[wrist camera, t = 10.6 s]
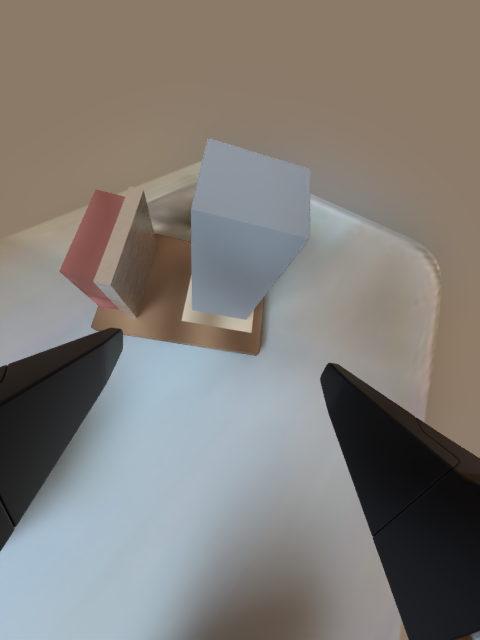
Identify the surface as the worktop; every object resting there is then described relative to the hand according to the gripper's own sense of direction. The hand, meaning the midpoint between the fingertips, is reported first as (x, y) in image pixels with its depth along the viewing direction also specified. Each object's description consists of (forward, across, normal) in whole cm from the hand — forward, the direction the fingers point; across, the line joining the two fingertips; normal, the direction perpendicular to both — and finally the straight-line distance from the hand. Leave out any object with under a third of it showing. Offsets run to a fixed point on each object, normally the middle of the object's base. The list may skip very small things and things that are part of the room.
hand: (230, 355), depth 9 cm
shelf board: (+15, +3, +3) cm, 15 cm away
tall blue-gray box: (+14, 0, +2) cm, 14 cm away
